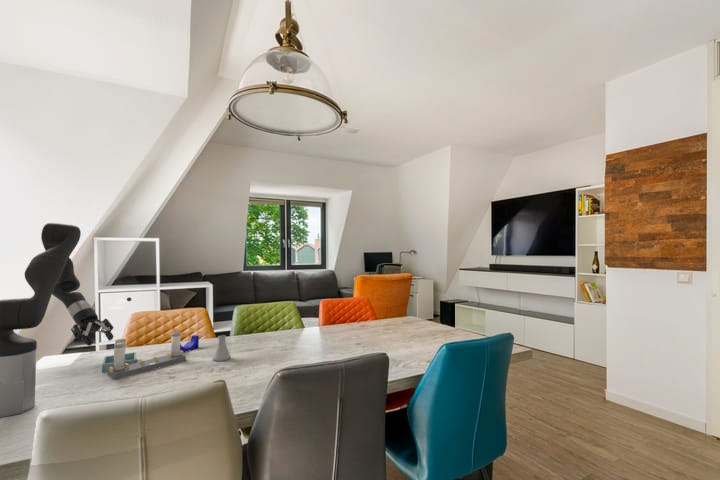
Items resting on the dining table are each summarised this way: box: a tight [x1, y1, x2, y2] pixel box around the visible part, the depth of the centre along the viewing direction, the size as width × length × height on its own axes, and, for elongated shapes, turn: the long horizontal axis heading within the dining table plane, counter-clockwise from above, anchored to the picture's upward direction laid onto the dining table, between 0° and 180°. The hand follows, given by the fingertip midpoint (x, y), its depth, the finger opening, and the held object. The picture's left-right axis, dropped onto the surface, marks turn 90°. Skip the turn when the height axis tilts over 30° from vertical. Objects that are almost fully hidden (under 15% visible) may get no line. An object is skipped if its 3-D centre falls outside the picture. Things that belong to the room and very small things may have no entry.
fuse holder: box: [106, 350, 187, 380], centre depth 136 cm, size 27×8×4 cm, turn 144°
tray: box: [101, 351, 137, 373], centre depth 139 cm, size 12×11×3 cm
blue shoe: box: [180, 334, 200, 353], centre depth 160 cm, size 12×4×6 cm, turn 159°
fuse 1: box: [113, 342, 126, 371], centre depth 128 cm, size 4×4×10 cm
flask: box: [212, 334, 232, 362], centre depth 147 cm, size 7×7×10 cm
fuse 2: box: [170, 331, 182, 357], centre depth 145 cm, size 4×4×10 cm
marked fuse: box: [114, 338, 127, 344], centre depth 139 cm, size 4×4×10 cm
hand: (101, 341), depth 142 cm, fingers open, 8 cm apart
